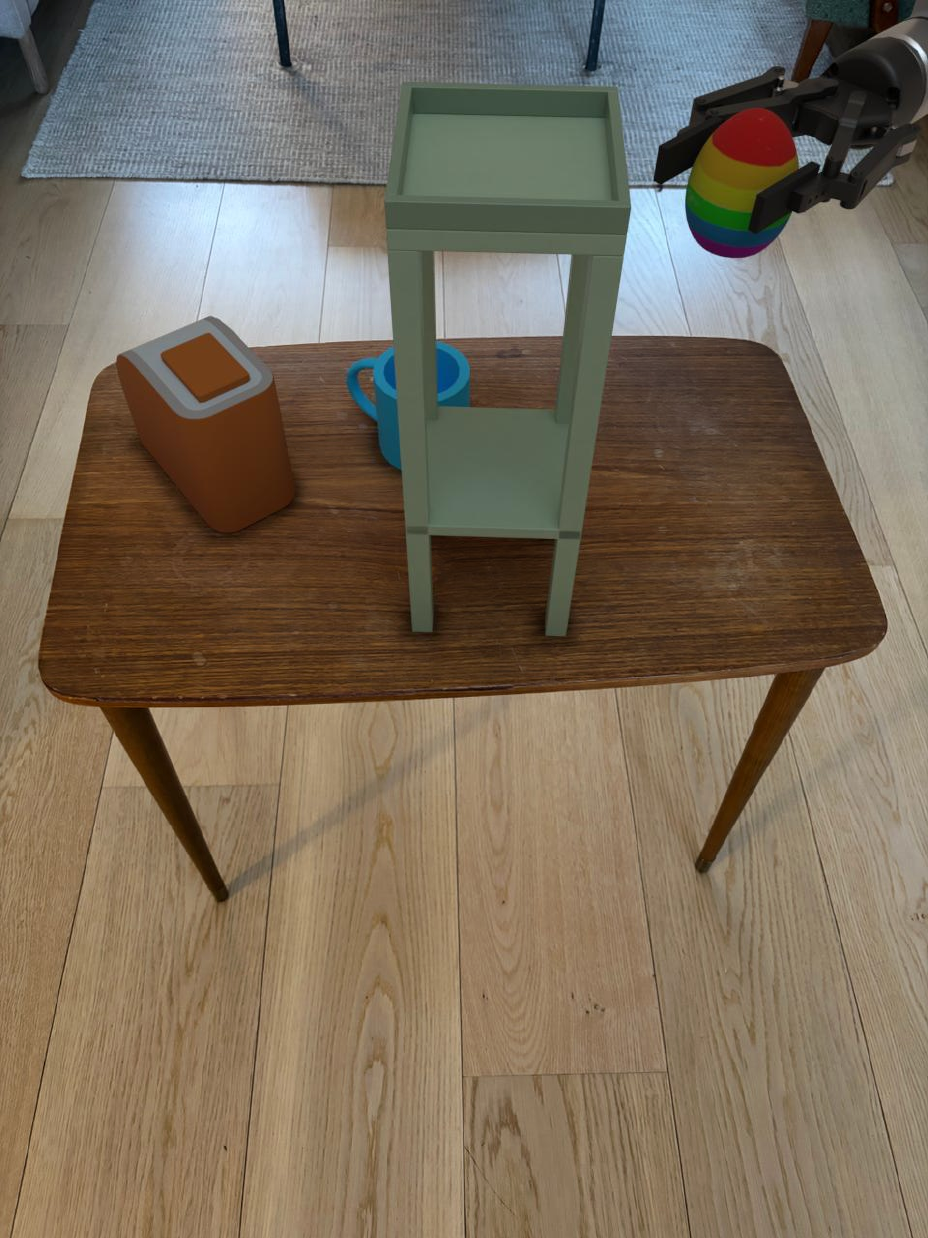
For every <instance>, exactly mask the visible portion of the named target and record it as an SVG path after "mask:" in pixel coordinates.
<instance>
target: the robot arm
mask: <svg viewBox="0 0 928 1238" xmlns="http://www.w3.org/2000/svg"><path fill="white" fill-rule="evenodd" d="M786 72H787V71H786V68H785V67H783V66H781V65H774V66H771V67H770V68H769V69H767V70H766V71H765V72H764V73H762V74H761V75H757V76H755V77H751V78H748V79H746V80H743V81H740V82H736V83H734V84H732V85H731V84H730V85H728V86H724V87H722V88H719V89H716V90H714V91H710V92H708V93H705V94H701V95H699V96H696V97H694V98H693V100H692V104H691V105H692V106H691V111H690V117H689V122H688V125H686V126H684V127H682V128H680V129H679V130H678V131H677V133H676V136H674V137H673V138H671V139H669V140H667V141H665V142H663V143H661V144H659V145H658V148H657V149H658V150H657V155H656V161H655V168H654V172H653V173H654V174H653V179H652V180H653V182H654V183H656V184H658V185H661V186H662V185H663V184H665V183H666V182H668V181H670V180H673V179H674V178H675V177H677V176H679V175H680V174H683V173H685V172H686V171H688V170H691V169H692V167H693V165H694V162H695V160H696V158H697V156H698V154H699V153H700V151H701V149H702V147H703V146H704V144H705V143H706V141H707V140H708V139H709V138H710V136H711V135H712V134H713V133H714V132H715V130H716V129H718V128H719V127H720V126H721V125H722V124H723V123H724V122H725V121H727V120H728V119H729V118H731V117H732V116H734V115H735V114H737V113H739V112H741V111H744V110H747V109H750V108H763V109H767V110H769V111H771V112H773V113H775V114H776V115H777V116H778V117H779V118H780V119H781V120H782V121H783V122H784V123H785V125H786V126H787V128H788V130H789V131H790V133H791V136H792V138H793V139H794V138H797V137H804V136H807V137H811V138H814V139H815V140H817V141H818V142H819V143H821V144H824V145H826V146H828V147H829V146H830V148H829V150H828V153H827V154H826V156H825V159H824V162H823V165H822V164H820V163H817V162H815V161H813V160H811V161H809V162H808V163H806V164H804V165H803V166H801V167H799V169H798V170H796V171H795V172H793V173H791V174H790V175H788V176H786V177H785V178H783V179H781V180H780V181H778V182H776V183H775V184H773V185H771V186H770V187H768V188H766V189H765V190H763V191H762V192H760V193H758V194H757V195H756V199H755V203H754V207H753V211H752V215H751V219H750V223H749V226H748V230H749V231H751V232H753V233H754V234H757V233H759V232H761V231H762V230H764V229H765V228H767V227H769V226H770V225H772V224H773V223H775V222H776V221H778V220H780V219H781V218H783V217H784V216H786V215H787V214H789V213H791V212H792V213H793V212H794V213H795V214H797V215H798V214H803V213H805V212H807V211H809V210H810V209H813V208H814V207H815V206H816V205H818V204H820V203H823V204H824V203H829V202H830V201H831V200H836V201H839V206H840V207H841V208H842V209H845V210H849V211H851V210H854V209H856V208H857V207H858V206H859V205H860V204H861V203H862V201H864V200H865V198H866V197H867V196H868V195H869V194H870V193H871V192H872V190H873V189H874V188H875V187H876V186H877V185H879V183H880V182H881V181H882V180H883V179H884V178H885V176H886V175H888V173H889V172H890V171H892V169H894V168H895V167H898V166H901V165H903V164H906V163H908V162H909V161H910V159H911V156H912V154H913V151H914V148H915V147H916V144H917V141H918V138H919V135H920V132H921V130H922V127H921V125H919V124H917V123H915V122H917V121H919V120H920V119H922V118H923V117H925V116H926V115H928V0H915V3H914V5H913V9H912V11H911V14H910V16H909V17H907V18H905V19H904V20H903V21H901V22H899V23H896V24H894V25H892V26H890V27H889V28H887V29H885V30H883V31H881V32H879V33H877V34H876V35H874V36H872V37H871V38H869V39H867V40H866V41H864V42H862V43H859V44H858V45H856V46H855V47H852V48H850V49H849V50H847V51H845V52H843V53H842V54H840V55H839V56H837V57H836V58H835V59H834V60H832V62H831V63H830V64H829V66H827V68H826V69H825V70H824V71H823V72H822V73H821V74H820V75H819V76H817V77H811V78H806V79H804V80H801V81H800V82H799V83H798V82H795V81H792V80H789V79H786V76H785V75H786ZM868 149H870V150H869V151H867V153H866V154H865V155H864V156H863V157H862V159H861V160H859V161H858V162H857V164H855V165H854V166H853V168H852V169H850V171H849V173H846V172H843V171H842V169H843V167H844V164H845V163H846V161H847V157H848V155H849V152H850V150H856V151H861V150H863V151H864V150H868ZM821 165H822V169H821ZM820 169H821V171H820Z"/></svg>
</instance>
